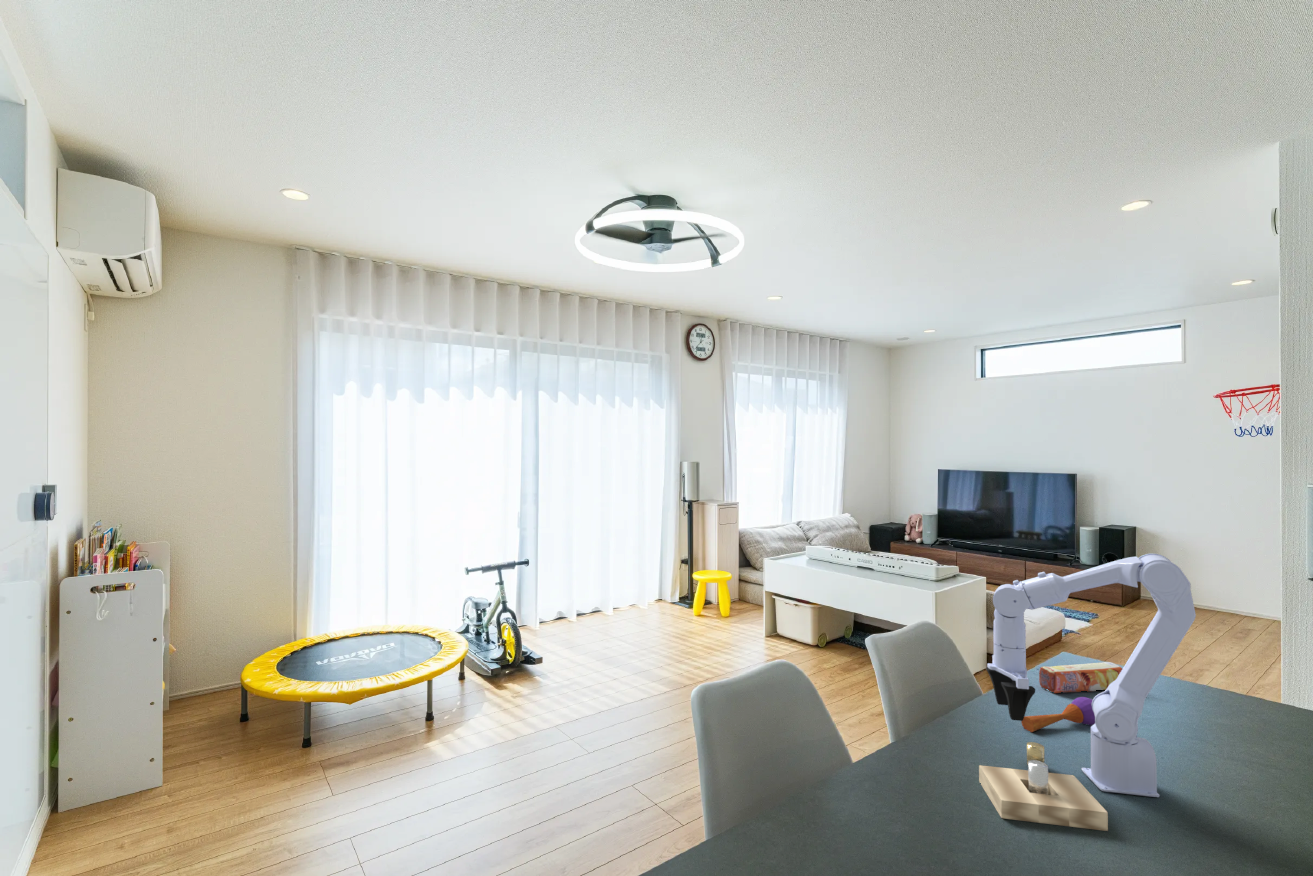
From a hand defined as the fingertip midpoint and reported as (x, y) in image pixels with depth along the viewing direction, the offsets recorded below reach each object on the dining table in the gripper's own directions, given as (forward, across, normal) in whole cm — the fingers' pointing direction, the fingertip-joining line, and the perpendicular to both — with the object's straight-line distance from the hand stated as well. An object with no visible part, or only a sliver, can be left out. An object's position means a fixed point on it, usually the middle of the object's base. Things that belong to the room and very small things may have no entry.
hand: (1009, 711), depth 124 cm
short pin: (+9, +2, +4) cm, 10 cm away
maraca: (+10, -20, +18) cm, 28 cm away
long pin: (+9, +17, -1) cm, 19 cm away
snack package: (+10, -46, +33) cm, 57 cm away
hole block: (+9, +17, -1) cm, 19 cm away
